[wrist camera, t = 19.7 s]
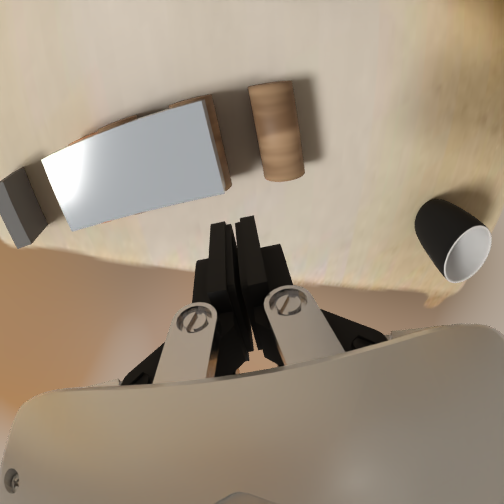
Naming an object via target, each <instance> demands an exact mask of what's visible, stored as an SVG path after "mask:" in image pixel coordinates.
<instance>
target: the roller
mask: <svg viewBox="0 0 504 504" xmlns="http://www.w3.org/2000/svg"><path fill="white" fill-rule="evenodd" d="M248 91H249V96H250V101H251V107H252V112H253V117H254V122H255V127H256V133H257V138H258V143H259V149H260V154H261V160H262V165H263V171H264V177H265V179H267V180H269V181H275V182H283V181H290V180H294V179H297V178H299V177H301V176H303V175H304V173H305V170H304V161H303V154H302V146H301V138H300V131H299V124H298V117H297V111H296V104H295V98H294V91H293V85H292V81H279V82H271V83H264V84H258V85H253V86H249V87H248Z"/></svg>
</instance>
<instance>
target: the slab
mask: <svg viewBox="0 0 504 504" xmlns="http://www.w3.org/2000/svg"><path fill="white" fill-rule="evenodd" d="M42 163H43V165H44V168H45V171H46V173H47V176H48V178H49V181H50V183H51V186H52V188H53V191H54V193H55V195H56V198H57V200H58V202H59V205H60V207H61V209H62V211H63V214H64V216H65V218H66V220H67V222H68V224H69V226H70V229H71V231H76V230H79V229H83V228H86V227H90V226H93V225H97V224H100V223H104V222H107V221H111V220H115V219H119V218H122V217H126V216H130V215H134V214H138V213H142V212H146V211H150V210H154V209H158V208H162V207H166V206H171V205H175V204H179V203H184V202H188V201H193V200H197V199H202V198H206V197H211V196H216V195H221V194H225V187H226V184H225V180H224V176H223V172H222V168H221V164H220V160H219V156H218V152H217V148H216V144H215V140H214V136H213V132H212V128H211V124H210V120H209V116H208V111H207V107H206V103H205V99H202V100H198V101H195V102H191V103H187V104H183V105H180V106H176V107H173V108H169V109H166V110H162V111H159V112H156V113H153V114H150V115H146V116H143V117H140V118H137V119H135V120H132V121H129V122H126V123H123V124H121V125H118V126H116V127H113V128H111V129H108V130H105V131H103V132H100V133H97V134H95V135H92V136H90V137H87V138H85V139H83V140H80V141H78V142H76V143H74V144H71V145H69V146H67V147H65V148H63V149H60V150H58V151H56V152H54V153H52V154H50V155H49V156H47V157H45V158H44V159H42Z"/></svg>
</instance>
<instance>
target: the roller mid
mask: <svg viewBox="0 0 504 504" xmlns="http://www.w3.org/2000/svg"><path fill="white" fill-rule="evenodd" d="M202 99H205V103H206V107H207V111H208V116H209V120H210V124H211V128H212V132H213V136H214V140H215V144H216V148H217V152H218V156H219V160H220V164H221V168H222V172H223V176H224V180H225V184H226V187H225V191H226V190H228V189H229V188H230V187H231V186H232V182H231V178H230V174H229V169H228V165H227V160H226V156H225V151H224V147H223V143H222V138H221V134H220V129H219V125H218V120H217V116H216V112H215V107H214V103H213V98H212V94H209V95H204V96H199V97H195V98H191V99H187V100H183V101H180V102H177V103H174V104H171V105H169V108H173V107H176V106H180V105H183V104H187V103H191V102H195V101H198V100H202Z"/></svg>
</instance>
